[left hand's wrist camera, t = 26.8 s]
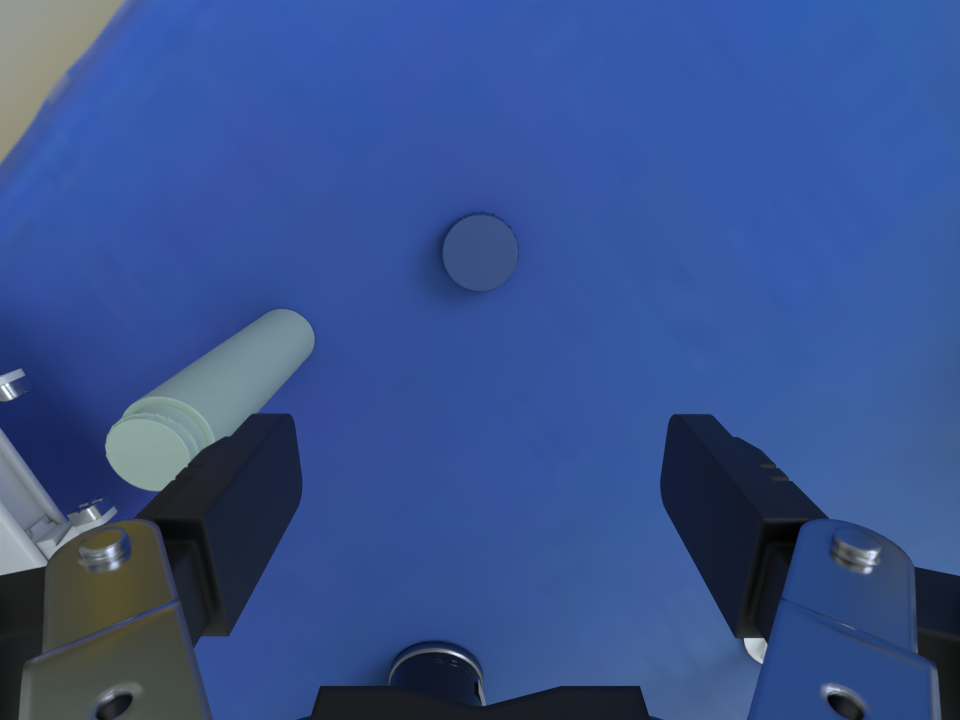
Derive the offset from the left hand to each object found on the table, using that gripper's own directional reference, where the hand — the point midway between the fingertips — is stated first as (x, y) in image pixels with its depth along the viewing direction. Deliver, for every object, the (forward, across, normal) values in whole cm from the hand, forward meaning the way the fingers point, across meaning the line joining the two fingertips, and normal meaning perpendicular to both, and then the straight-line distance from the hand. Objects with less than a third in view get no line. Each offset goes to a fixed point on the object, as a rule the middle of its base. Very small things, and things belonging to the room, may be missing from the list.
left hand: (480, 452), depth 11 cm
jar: (+28, +15, +7) cm, 33 cm away
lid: (+27, 0, 0) cm, 27 cm away
